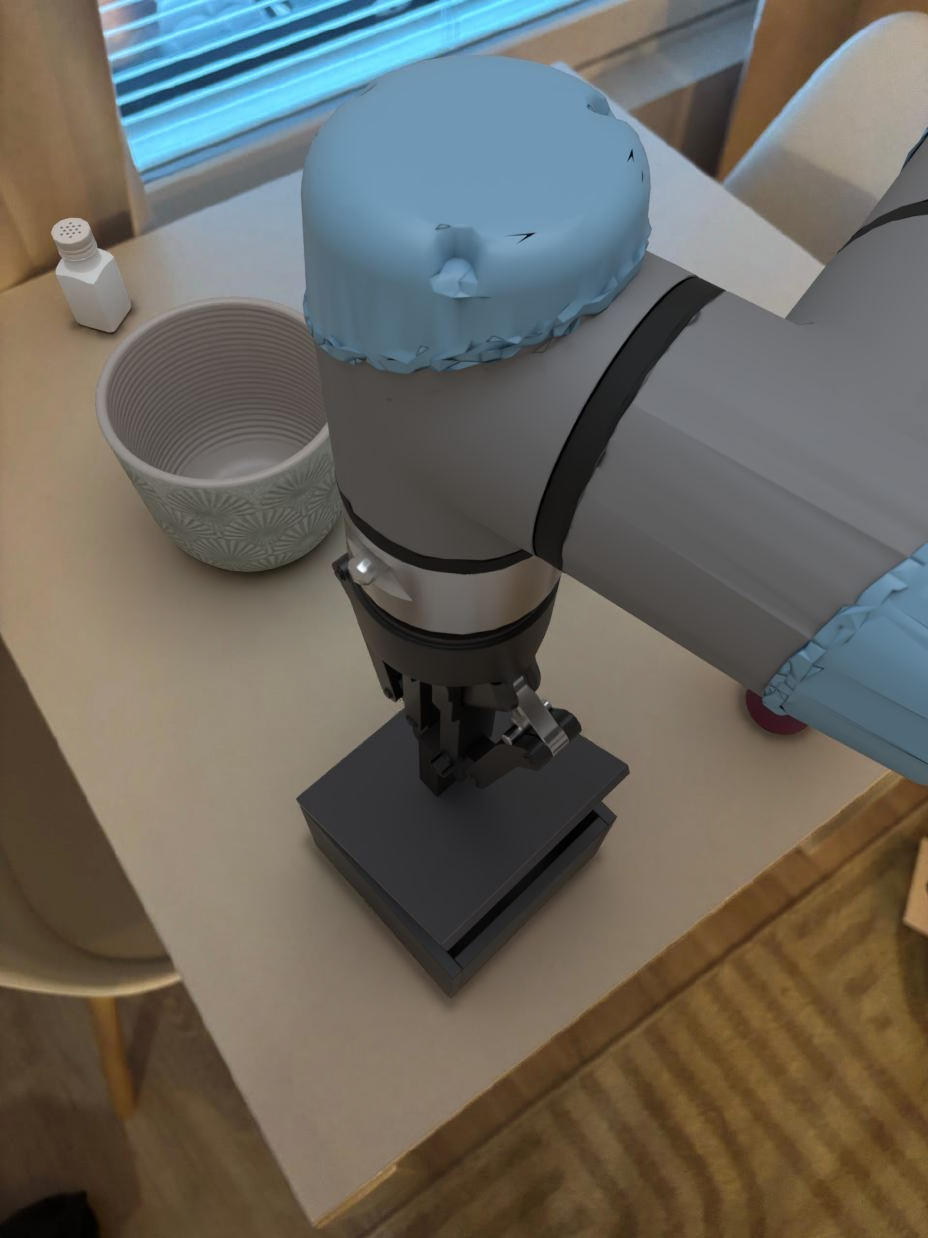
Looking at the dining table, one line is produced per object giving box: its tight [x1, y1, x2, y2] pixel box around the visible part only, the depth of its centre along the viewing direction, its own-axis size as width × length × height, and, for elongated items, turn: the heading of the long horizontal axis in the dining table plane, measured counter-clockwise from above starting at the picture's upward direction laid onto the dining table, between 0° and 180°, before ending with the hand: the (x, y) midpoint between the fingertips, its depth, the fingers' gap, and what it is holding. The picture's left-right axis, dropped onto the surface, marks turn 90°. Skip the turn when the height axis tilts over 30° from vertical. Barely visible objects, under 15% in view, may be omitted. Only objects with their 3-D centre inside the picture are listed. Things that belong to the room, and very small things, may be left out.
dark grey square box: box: [299, 800, 618, 999], centre depth 61 cm, size 14×14×9 cm
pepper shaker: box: [50, 217, 132, 333], centre depth 83 cm, size 4×4×10 cm
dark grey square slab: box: [295, 707, 631, 951], centre depth 54 cm, size 14×14×1 cm
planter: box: [94, 296, 342, 573], centre depth 70 cm, size 17×17×15 cm
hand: (446, 772), depth 53 cm, fingers closed
